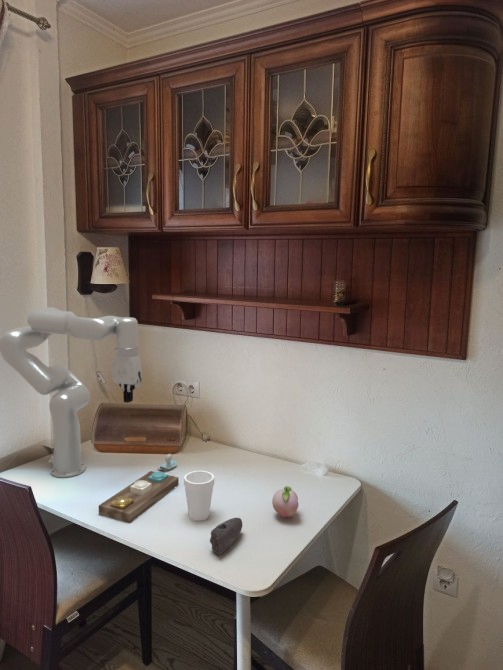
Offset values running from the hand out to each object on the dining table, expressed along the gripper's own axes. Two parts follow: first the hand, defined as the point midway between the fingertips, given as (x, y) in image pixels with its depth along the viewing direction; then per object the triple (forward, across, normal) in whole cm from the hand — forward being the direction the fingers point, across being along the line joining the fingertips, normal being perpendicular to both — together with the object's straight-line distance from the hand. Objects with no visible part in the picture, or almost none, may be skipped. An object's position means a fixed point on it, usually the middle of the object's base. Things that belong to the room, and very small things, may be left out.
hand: (128, 401), depth 174 cm
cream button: (+27, +14, -12) cm, 33 cm away
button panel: (+29, +14, -12) cm, 34 cm away
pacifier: (+29, +8, +12) cm, 33 cm away
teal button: (+28, +14, -2) cm, 31 cm away
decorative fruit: (+29, +62, -2) cm, 69 cm away
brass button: (+28, +14, -22) cm, 38 cm away
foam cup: (+29, +37, -13) cm, 49 cm away
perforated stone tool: (+29, +52, -23) cm, 64 cm away
